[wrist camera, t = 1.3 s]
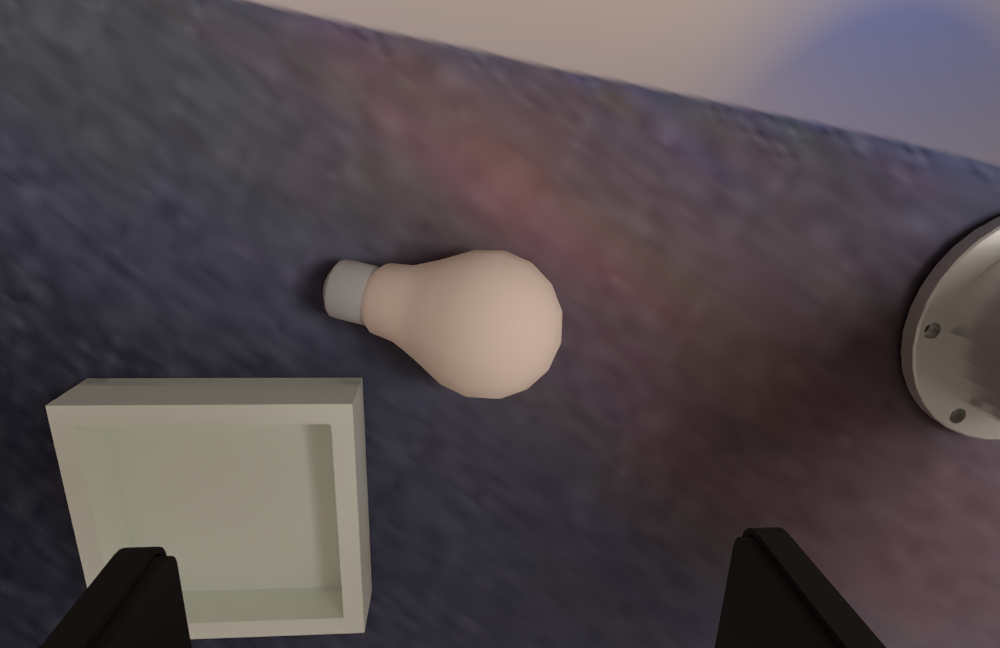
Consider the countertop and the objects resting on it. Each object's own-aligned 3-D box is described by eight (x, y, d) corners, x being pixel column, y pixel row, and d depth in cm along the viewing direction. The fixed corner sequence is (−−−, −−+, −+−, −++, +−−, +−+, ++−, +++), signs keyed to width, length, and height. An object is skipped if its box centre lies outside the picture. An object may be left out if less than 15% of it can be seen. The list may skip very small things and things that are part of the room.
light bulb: (271, 363, 23) (536, 435, 22) (303, 202, 23) (577, 263, 21) (341, 347, 30) (549, 401, 28) (367, 221, 29) (581, 270, 28)
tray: (362, 377, 29) (352, 404, 26) (372, 589, 33) (364, 632, 30) (87, 378, 28) (45, 405, 25) (131, 597, 32) (99, 642, 29)
